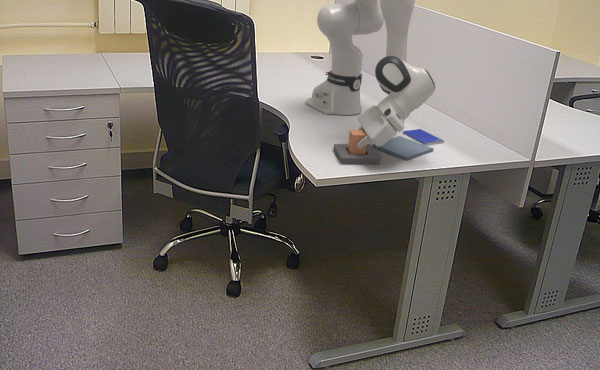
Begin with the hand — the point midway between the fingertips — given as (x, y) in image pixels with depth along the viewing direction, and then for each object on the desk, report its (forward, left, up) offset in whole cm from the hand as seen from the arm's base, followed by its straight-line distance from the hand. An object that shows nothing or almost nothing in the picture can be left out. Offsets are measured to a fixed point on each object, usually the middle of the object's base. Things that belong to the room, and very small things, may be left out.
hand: (355, 143), depth 199 cm
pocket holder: (0, +1, -5) cm, 5 cm away
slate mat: (+4, +19, -5) cm, 20 cm away
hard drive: (+2, +33, -5) cm, 33 cm away
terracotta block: (0, +1, -5) cm, 5 cm away
